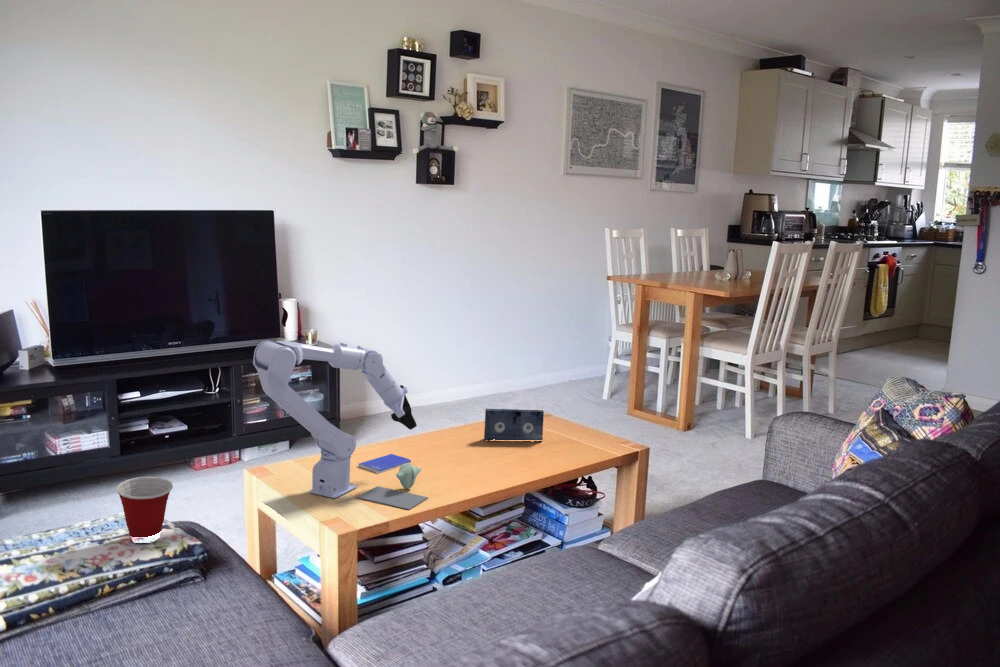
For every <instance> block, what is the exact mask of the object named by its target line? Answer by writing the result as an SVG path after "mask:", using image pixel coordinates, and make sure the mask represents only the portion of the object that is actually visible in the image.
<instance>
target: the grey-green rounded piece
mask: <svg viewBox="0 0 1000 667" xmlns="http://www.w3.org/2000/svg"><path fill="white" fill-rule="evenodd" d="M422 470H423V468H421V467H419V466H415V465H413V464H412V463H410V464H409V463H405V464H403V465H402V466H401V467H399V470H398V472H396V478H397V479H398V480H399V482H400V484H401V486H402V488H403V489H404V490H405V489H406V490H409V489H411V488H412V487H413V486H414V484H415V482H416V478H417V476H418V475H419V474H420V473H421V471H422Z"/></svg>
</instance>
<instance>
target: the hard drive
mask: <svg viewBox="0 0 1000 667" xmlns="http://www.w3.org/2000/svg"><path fill="white" fill-rule="evenodd" d="M405 463H410V464H412V460H411V459H409V458H406V457H403V456H399V455H396V454H393V453H389V454H386V455H383V456H380V457H377V458H373V459H370V460H365V461H362V462H360V463H359V462H358V468H361V469H365V470H368V471H370V472H373V473H377V474H381V473H385V472H389V471H392V470H394V469H397V468H400V467H401V466H402V465H403V464H405Z"/></svg>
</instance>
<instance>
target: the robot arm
mask: <svg viewBox="0 0 1000 667" xmlns="http://www.w3.org/2000/svg"><path fill="white" fill-rule="evenodd" d="M303 360H309V361H321V362H328V364H329V365H330V366H331V367H332V368H336V369H344V370H350V371H351V370H353V371H358V370H359V371H361V373H362V375H364V377H365V379H366V381H367V382H368V383H369V384H370V386H371V387H372V388H373V390H374V391H375V392H376V393H377V394H378V396H379V397H380V399H381V400H382V401H383V405H385V407H387V408H388V409H390V410H391V411H392V412H393V413H391V414H390V417H391V419H392V421H394V422H398V423H399V424H401V425H403V426H405V427H406V428H407V429H408V430H410V431H411V430H413V429H414V428H416V427H418V426H417V422H416V420H415V418H414V416H413V414H412V413H413V412H412V407H411V404H410V402H409V400H408V398H407V396H406V394H407V393H408V392H409V390H408V387H407V386H404V385H403V384H402V385H401V384H399V383H398V382H397V380H396V379H395V378H394V376H393V375H392V373H391V371H389V370H388V368H387V367H386V366H385V365H384V359H383V356H382V354H381V353H378V351H376V350H373V349H369V348H367V347H366V348H365V347H364V346H361V345H357V347H356V346H349V345H348V343H346V342H345V343H344V342H339V344H333V346H330V348H329V347H328V348H327V347H321V346H317V345H312V344H311V345H310V344H305V343H300V342H294V341H284V340H282V341H281V340H278V341H277V340H276V341H275V342H274V341H272V340H263V341H261V342H260V343H258V344H257V345H256V347H255V349H254V352H253V360H252V365H253V366H254V368H255V369H256V371H257V375H258V378H259V380H260V382H259V383H260V384H261V388H262V390H263V392H264V394H265V395H266V396H268V397H269V398H271V400H272V401H273V402H275V403H276V404H277V405H278V406H279V407H280V408H282V409H283V410H284V411H285V412H286V413H288V415H290V417H292V418H293V419H294V420H295V421H296V422H297V423H299V424H300V425H301V426H302V427H303V428H305V429H306V430H307V431H308V432H310V433H311V435H310V436H311V437H313V438H314V440H315V444H316V446H317V447H318V448H319V449H320V459H319V460H318V461H317V462H316V463H315V464H314V465H313V467H312V477H311V478H312V487H311V489H310V490H309V493H311V494H315V495H319V496H322V495H323V496H322V497H326V498H332V499H337V498H339V497H340V496H343V495H345V494H347V493H349V492H351V491H352V490H355V489H356V488H358V487H357V484H352V483H351V458H352V455H353V453H355V450H356V447H357V441H356V439H355V436H353V435H352V434H351V433H347V432H344V431H342V430H341V429H340V428H338V427H336V426H335V425H334V424H332V423H331V422H329V420H327V419H326V418H325V417H324V416H323V414H321V413H319V412H318V411H317V410H316V409H315V408H314V407H313V406H312V405H310V404H309V402H308V401H306V399H304V398H303V397H302V396H300V394H299V393H297V392H296V391H295V390H294V389H293V388H292V387H291V386H290V385H289V381H290V379H291V376H292V374H293V371H294V368H295V367H296V365H297V366H299V365H301V363H302V362H303Z"/></svg>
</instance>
